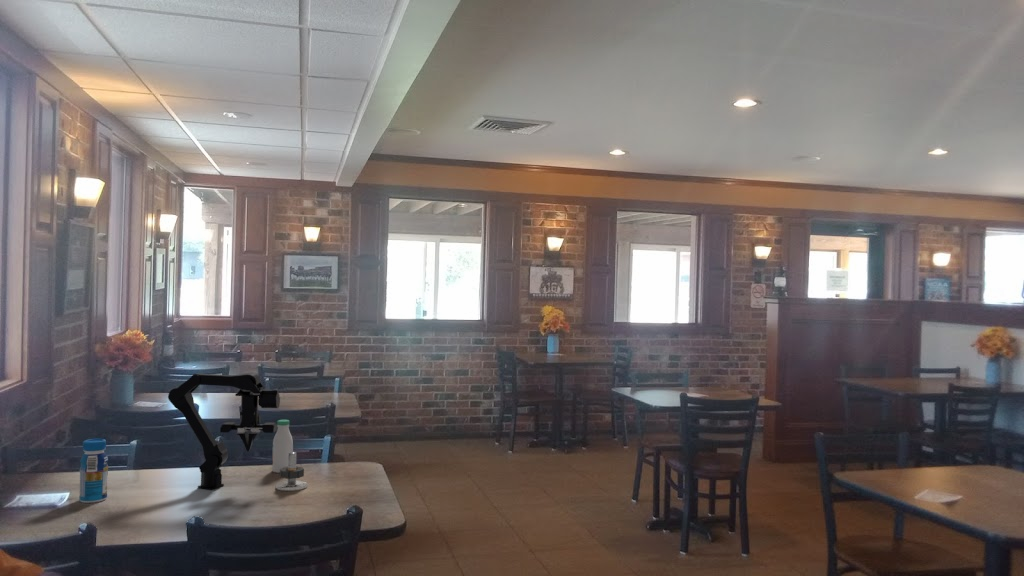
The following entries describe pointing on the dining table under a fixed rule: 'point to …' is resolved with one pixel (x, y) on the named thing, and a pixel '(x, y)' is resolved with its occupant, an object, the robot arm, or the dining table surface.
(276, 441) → the milk bottle
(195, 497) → the dining table surface
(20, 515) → the dining table surface
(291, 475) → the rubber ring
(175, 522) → the dining table surface
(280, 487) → the pipe stand
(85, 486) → the beverage bottle
